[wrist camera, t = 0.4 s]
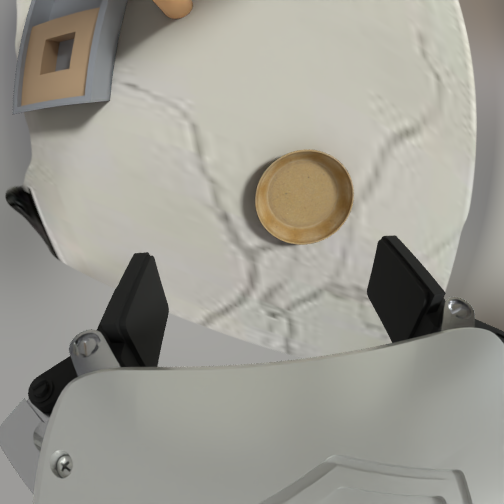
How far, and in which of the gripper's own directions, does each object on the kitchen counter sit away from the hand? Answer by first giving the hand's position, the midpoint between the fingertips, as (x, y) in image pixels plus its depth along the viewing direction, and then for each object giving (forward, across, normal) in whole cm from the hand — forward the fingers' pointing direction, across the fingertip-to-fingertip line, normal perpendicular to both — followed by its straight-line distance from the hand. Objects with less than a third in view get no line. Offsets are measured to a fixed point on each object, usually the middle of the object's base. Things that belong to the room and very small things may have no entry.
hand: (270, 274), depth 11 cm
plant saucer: (+30, -8, +8) cm, 32 cm away
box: (+30, +24, -23) cm, 44 cm away
